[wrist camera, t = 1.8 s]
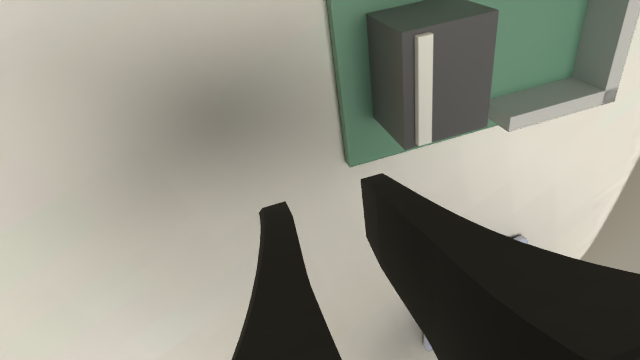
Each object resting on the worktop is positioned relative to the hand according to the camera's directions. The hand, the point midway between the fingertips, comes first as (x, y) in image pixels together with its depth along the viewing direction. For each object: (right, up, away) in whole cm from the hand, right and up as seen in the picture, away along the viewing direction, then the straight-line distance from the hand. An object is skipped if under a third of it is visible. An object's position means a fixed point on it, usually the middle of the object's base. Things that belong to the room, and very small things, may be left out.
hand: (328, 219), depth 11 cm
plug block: (+4, +7, +9) cm, 12 cm away
